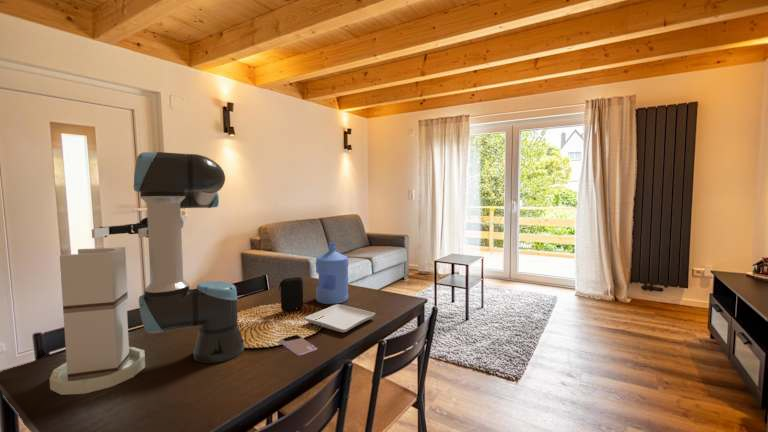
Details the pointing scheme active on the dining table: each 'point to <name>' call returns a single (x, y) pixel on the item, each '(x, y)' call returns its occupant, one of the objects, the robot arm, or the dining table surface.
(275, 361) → the dining table surface
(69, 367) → the tall seamed cream box
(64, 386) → the round tray
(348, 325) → the salad plate
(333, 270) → the water jug
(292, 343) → the mobile phone
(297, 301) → the black rounded block
